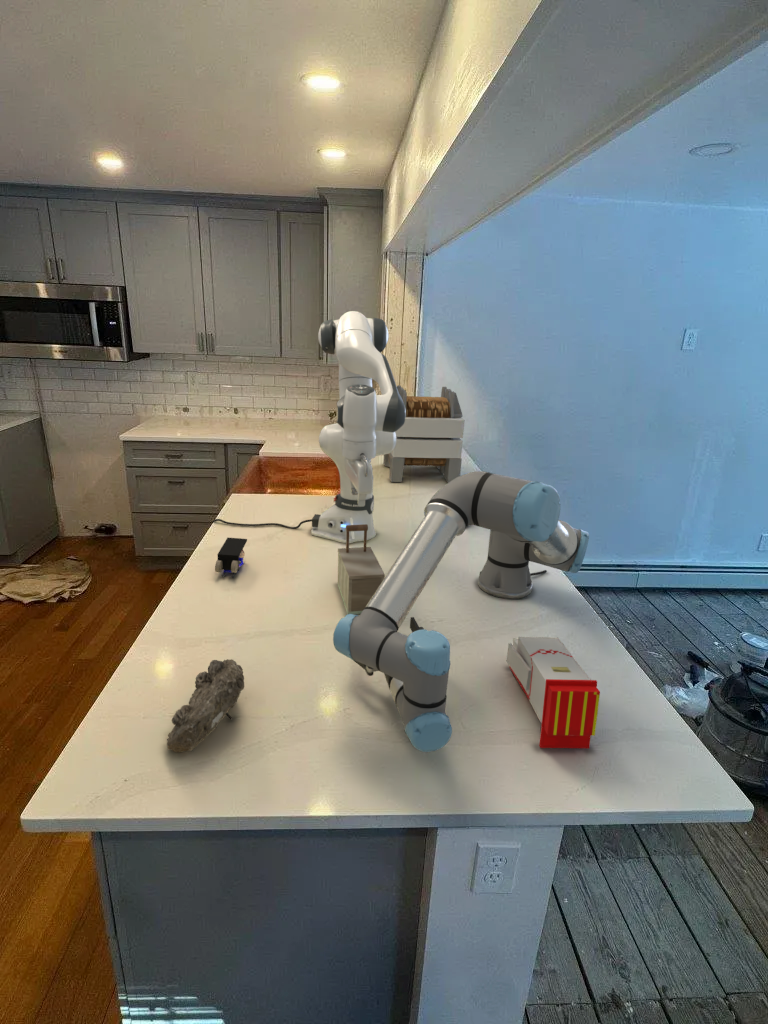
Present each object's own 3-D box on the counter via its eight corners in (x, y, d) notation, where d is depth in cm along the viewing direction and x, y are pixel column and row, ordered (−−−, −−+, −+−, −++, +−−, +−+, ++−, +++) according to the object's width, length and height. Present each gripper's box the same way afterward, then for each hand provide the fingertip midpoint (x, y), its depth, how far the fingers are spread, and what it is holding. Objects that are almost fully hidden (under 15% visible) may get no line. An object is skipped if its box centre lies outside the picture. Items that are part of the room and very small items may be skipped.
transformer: (382, 463, 289) (386, 382, 275) (445, 464, 293) (451, 384, 279) (390, 482, 257) (394, 392, 243) (460, 483, 261) (468, 394, 247)
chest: (337, 584, 162) (338, 552, 158) (369, 582, 164) (370, 550, 160) (347, 614, 146) (348, 580, 143) (383, 612, 148) (384, 577, 145)
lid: (337, 551, 159) (338, 522, 156) (370, 549, 161) (371, 520, 158) (348, 579, 143) (349, 547, 140) (384, 577, 145) (386, 545, 142)
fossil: (192, 660, 117) (244, 628, 112) (224, 691, 120) (276, 661, 115) (142, 746, 98) (202, 712, 93) (182, 779, 101) (242, 748, 96)
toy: (554, 620, 129) (609, 687, 99) (549, 674, 131) (601, 755, 102) (501, 619, 128) (541, 686, 99) (497, 673, 131) (534, 754, 102)
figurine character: (238, 584, 162) (249, 557, 175) (236, 562, 158) (247, 536, 172) (215, 584, 161) (227, 556, 175) (212, 561, 158) (225, 535, 171)
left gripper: (379, 459, 138) (377, 512, 143) (363, 440, 157) (362, 488, 162) (354, 459, 137) (353, 513, 142) (340, 440, 156) (340, 488, 160)
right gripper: (343, 705, 107) (327, 644, 126) (467, 691, 113) (434, 634, 132) (344, 672, 104) (328, 614, 124) (471, 659, 110) (436, 605, 130)
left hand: (357, 499), depth 152 cm, fingers open, 8 cm apart
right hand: (382, 624), depth 128 cm, fingers open, 13 cm apart
